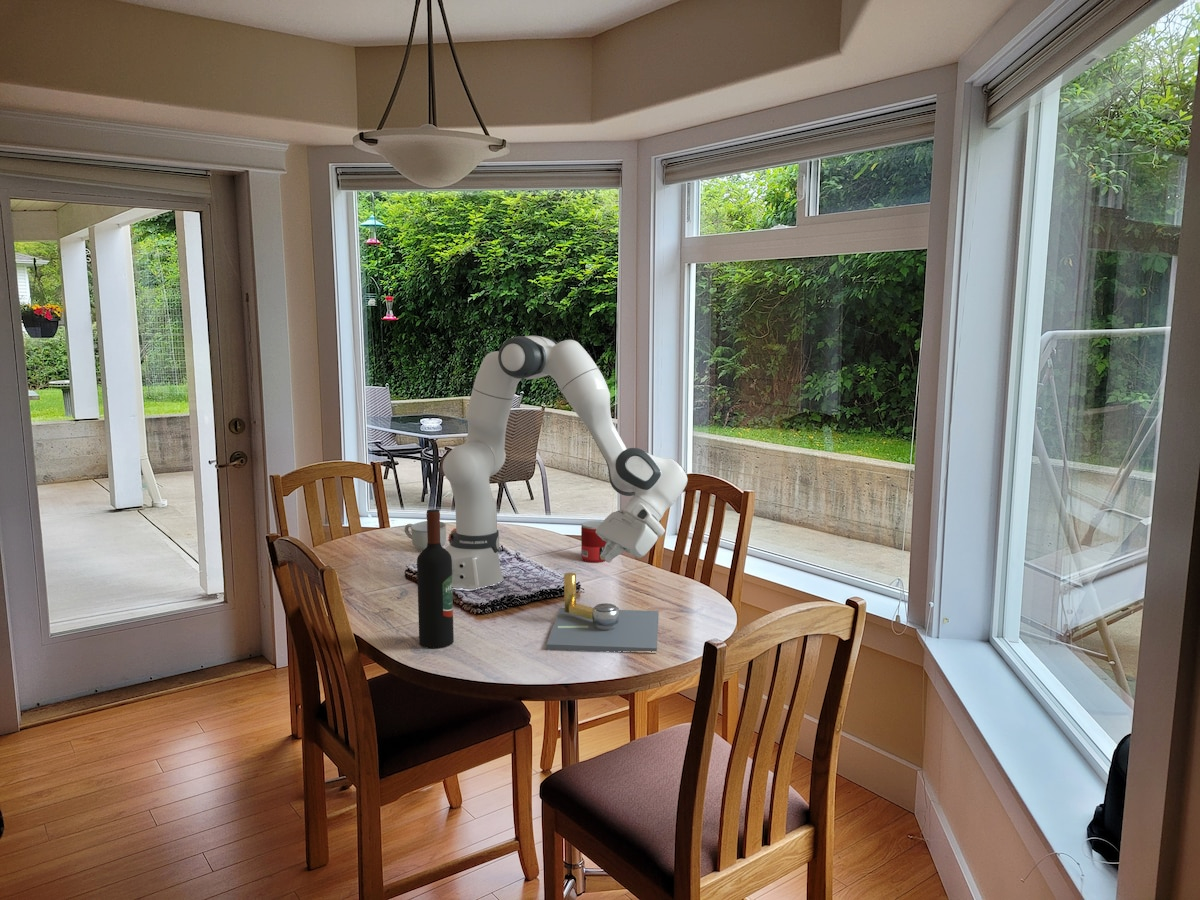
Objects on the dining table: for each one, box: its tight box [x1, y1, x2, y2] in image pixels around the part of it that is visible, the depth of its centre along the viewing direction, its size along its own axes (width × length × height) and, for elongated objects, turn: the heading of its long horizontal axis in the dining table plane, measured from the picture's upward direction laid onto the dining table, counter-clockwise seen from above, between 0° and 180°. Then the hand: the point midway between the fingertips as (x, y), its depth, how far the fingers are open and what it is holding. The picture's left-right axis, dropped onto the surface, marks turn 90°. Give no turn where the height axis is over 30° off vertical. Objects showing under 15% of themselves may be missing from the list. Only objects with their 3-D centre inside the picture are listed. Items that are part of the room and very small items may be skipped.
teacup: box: [404, 520, 447, 552], centre depth 268 cm, size 14×11×8 cm
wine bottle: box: [416, 508, 455, 650], centre depth 188 cm, size 8×8×30 cm
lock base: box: [545, 607, 660, 653], centre depth 197 cm, size 24×24×2 cm
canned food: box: [580, 520, 607, 564], centre depth 256 cm, size 8×8×11 cm
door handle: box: [563, 572, 620, 626], centre depth 199 cm, size 15×6×9 cm, turn 50°
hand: (604, 559), depth 207 cm, fingers closed
